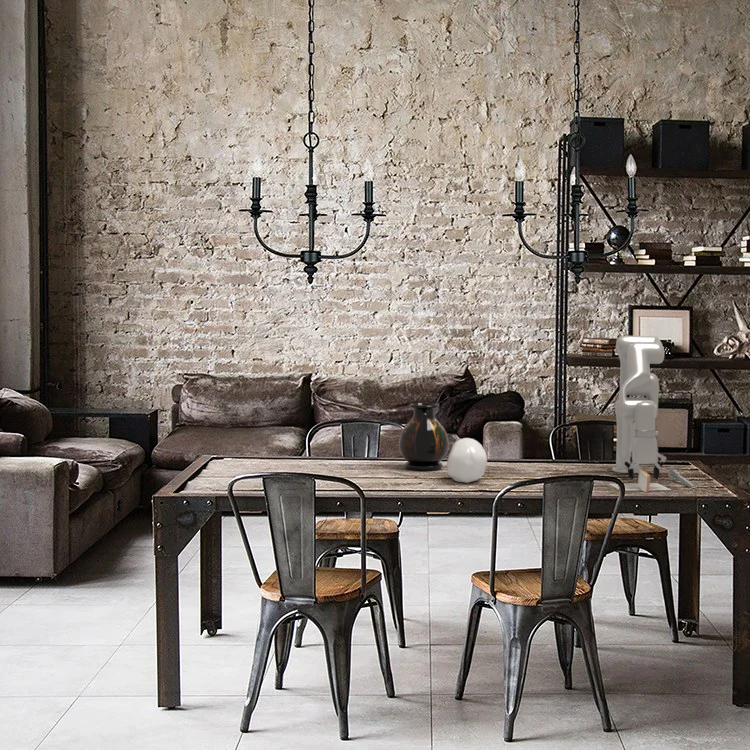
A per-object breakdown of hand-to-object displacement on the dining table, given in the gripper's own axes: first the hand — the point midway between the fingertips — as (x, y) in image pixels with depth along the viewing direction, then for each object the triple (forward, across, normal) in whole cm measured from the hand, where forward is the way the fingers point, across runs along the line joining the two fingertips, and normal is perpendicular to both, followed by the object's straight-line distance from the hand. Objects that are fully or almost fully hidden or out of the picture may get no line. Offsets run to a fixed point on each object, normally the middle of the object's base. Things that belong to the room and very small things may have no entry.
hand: (643, 478), depth 386 cm
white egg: (+5, +64, -26) cm, 69 cm away
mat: (+4, 0, -4) cm, 6 cm away
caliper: (+5, -20, -11) cm, 23 cm away
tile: (+4, +1, +4) cm, 6 cm away
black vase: (+4, +78, -55) cm, 96 cm away
